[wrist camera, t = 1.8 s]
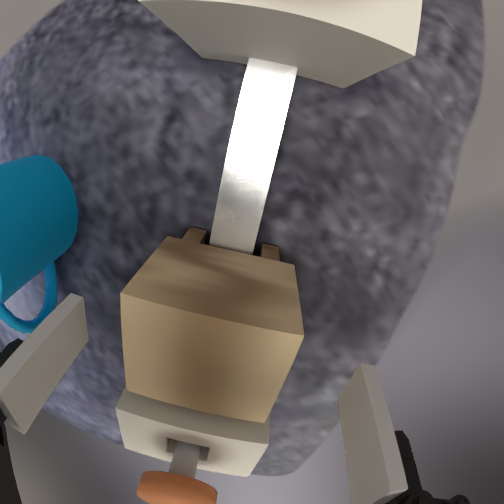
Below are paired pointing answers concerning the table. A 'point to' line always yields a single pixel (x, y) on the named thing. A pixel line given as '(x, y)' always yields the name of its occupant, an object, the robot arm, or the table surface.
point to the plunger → (177, 480)
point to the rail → (251, 154)
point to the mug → (33, 229)
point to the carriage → (211, 327)
